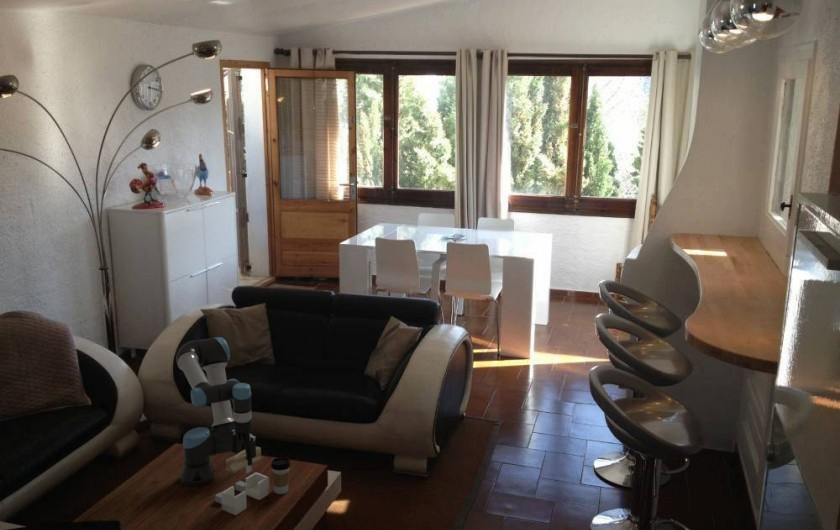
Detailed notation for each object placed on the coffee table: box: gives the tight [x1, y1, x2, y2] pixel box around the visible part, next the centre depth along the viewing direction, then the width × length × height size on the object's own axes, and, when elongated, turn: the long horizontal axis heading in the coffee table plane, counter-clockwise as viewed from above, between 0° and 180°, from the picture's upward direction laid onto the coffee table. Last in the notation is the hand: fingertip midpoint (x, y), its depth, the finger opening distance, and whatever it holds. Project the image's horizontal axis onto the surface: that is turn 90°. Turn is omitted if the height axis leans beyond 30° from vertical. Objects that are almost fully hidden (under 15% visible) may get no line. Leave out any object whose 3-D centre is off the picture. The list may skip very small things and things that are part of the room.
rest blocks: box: [214, 480, 246, 505], centre depth 330 cm, size 5×15×3 cm, turn 149°
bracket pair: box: [221, 472, 271, 516], centre depth 325 cm, size 8×21×8 cm, turn 149°
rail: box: [225, 445, 262, 474], centre depth 321 cm, size 4×16×5 cm, turn 148°
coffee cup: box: [270, 456, 291, 495], centre depth 334 cm, size 8×8×15 cm
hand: (244, 469), depth 322 cm, fingers closed on rail, 4 cm apart
